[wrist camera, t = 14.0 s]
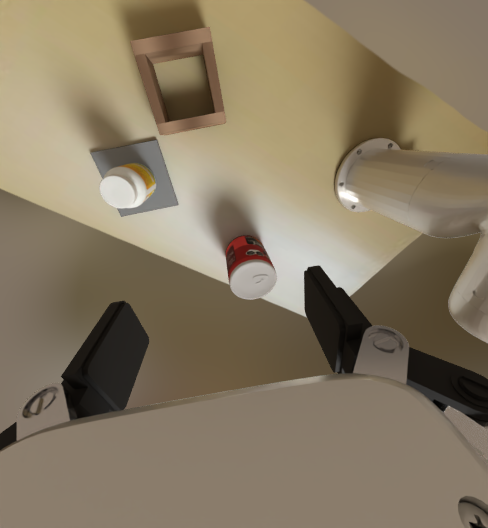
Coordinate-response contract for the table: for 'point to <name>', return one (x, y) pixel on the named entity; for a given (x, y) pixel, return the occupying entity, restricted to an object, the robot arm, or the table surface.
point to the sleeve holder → (174, 49)
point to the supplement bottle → (127, 185)
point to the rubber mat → (148, 157)
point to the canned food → (249, 268)
